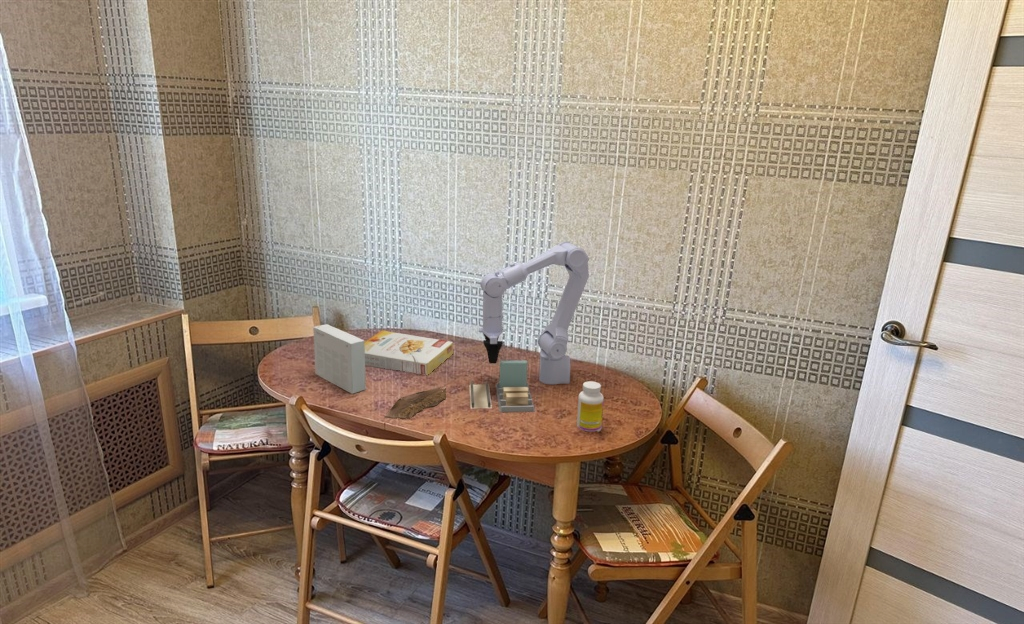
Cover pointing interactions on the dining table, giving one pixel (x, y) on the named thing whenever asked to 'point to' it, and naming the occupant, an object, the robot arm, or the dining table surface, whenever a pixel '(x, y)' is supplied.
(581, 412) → the supplement bottle
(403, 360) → the cereal box
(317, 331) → the skincare box
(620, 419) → the dining table surface
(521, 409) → the rack
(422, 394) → the wooden fragment
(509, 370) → the teal rectangular block
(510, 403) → the offcut front
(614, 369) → the dining table surface
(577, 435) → the dining table surface
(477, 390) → the holder
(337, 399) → the dining table surface
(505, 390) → the block
